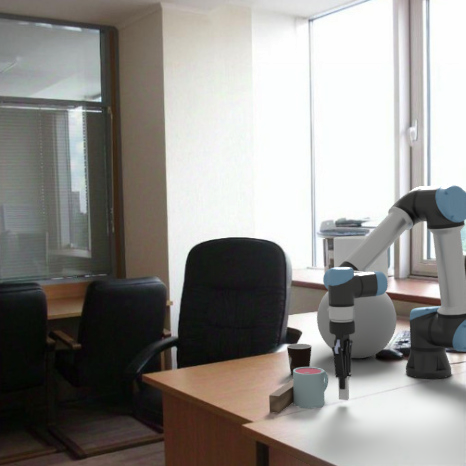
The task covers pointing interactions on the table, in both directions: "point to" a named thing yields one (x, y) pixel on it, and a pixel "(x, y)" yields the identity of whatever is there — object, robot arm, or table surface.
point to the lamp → (348, 245)
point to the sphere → (363, 324)
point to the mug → (309, 387)
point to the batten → (281, 398)
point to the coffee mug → (299, 356)
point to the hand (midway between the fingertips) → (343, 399)
